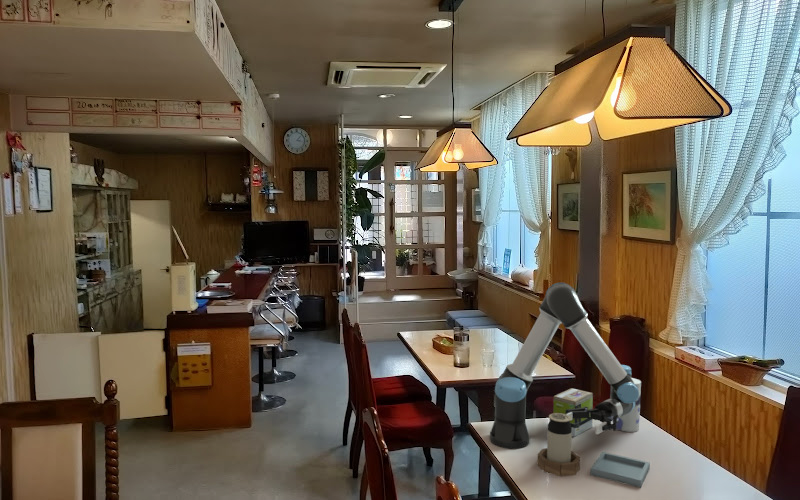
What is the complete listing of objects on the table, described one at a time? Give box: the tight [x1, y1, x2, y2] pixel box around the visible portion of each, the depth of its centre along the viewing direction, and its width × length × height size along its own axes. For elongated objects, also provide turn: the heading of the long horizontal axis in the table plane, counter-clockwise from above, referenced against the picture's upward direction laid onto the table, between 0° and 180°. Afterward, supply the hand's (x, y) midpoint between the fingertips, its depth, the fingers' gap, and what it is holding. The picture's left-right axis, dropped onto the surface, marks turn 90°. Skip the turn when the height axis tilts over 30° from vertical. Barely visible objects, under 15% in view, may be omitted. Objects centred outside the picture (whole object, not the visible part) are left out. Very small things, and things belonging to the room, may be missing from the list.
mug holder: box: [536, 447, 581, 477], centre depth 202 cm, size 13×13×4 cm
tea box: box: [552, 387, 594, 437], centre depth 237 cm, size 15×10×15 cm
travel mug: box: [546, 413, 572, 463], centre depth 201 cm, size 8×8×18 cm
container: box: [616, 377, 642, 433], centre depth 239 cm, size 10×10×20 cm
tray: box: [590, 451, 651, 489], centre depth 199 cm, size 16×16×2 cm
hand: (578, 425), depth 207 cm, fingers open, 13 cm apart
